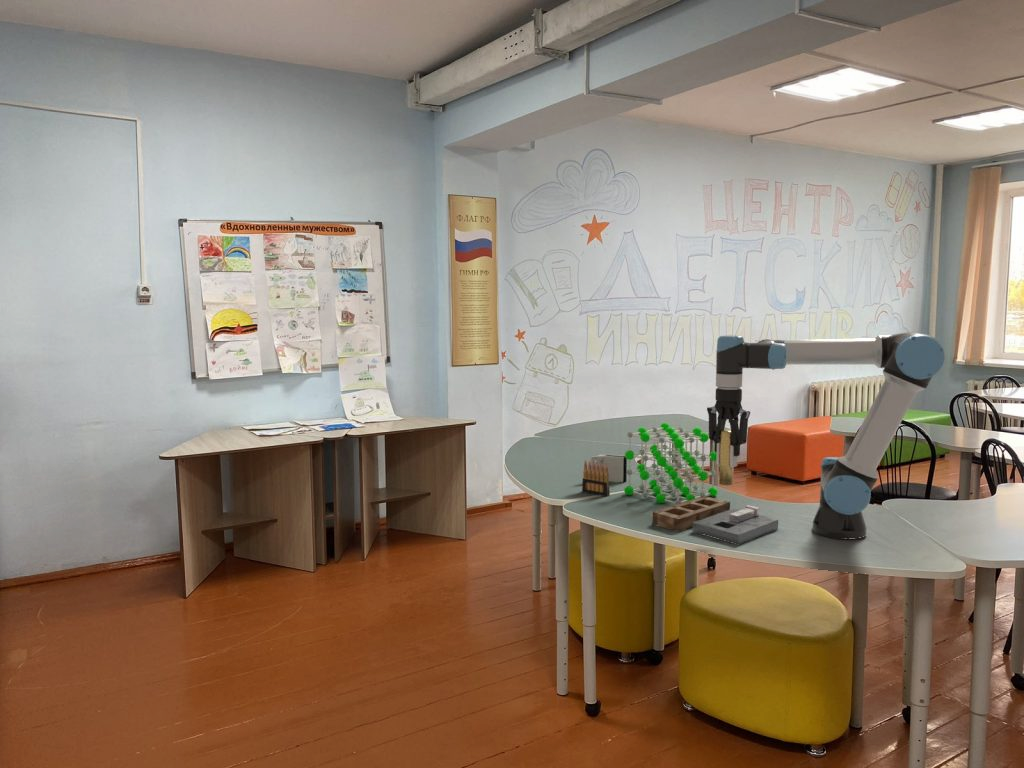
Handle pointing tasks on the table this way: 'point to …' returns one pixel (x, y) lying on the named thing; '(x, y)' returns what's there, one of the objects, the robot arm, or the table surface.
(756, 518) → the socket housing
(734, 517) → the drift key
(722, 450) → the peg
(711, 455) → the molecular structure model
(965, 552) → the table surface
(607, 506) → the table surface
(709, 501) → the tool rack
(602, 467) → the ammunition clip
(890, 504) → the table surface
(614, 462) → the grey rectangular box
